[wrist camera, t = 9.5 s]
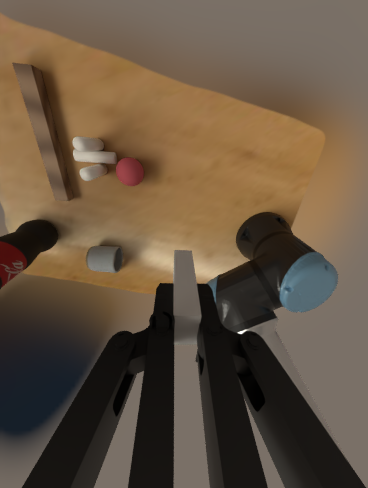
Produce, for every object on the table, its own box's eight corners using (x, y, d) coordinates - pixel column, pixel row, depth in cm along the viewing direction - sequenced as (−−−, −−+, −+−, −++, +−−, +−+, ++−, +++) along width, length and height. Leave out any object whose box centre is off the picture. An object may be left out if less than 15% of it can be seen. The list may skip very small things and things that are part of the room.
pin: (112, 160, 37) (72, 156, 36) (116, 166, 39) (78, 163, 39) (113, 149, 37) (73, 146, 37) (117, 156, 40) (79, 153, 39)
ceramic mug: (93, 241, 50) (80, 256, 43) (121, 241, 50) (113, 256, 44) (100, 268, 55) (90, 285, 49) (125, 269, 56) (119, 286, 49)
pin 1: (106, 147, 38) (89, 147, 31) (97, 152, 39) (79, 154, 31) (99, 136, 37) (80, 133, 30) (90, 141, 38) (69, 140, 30)
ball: (123, 169, 42) (146, 163, 41) (125, 192, 41) (149, 187, 40) (109, 154, 36) (135, 148, 35) (111, 181, 35) (138, 175, 35)
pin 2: (109, 171, 41) (95, 177, 33) (101, 176, 41) (85, 183, 34) (103, 161, 40) (86, 165, 32) (95, 166, 40) (76, 171, 33)
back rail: (23, 68, 31) (12, 62, 29) (40, 70, 32) (30, 64, 29) (61, 197, 43) (55, 200, 41) (73, 198, 44) (68, 201, 41)
